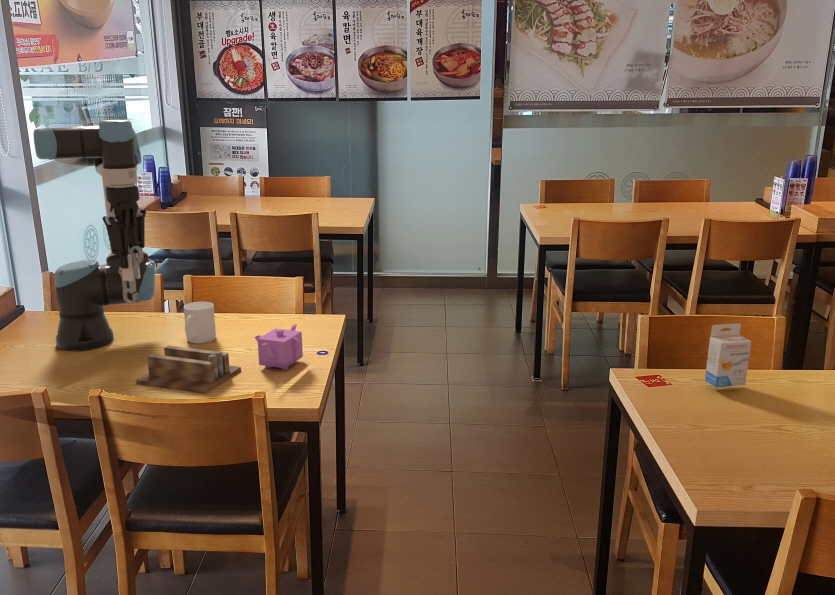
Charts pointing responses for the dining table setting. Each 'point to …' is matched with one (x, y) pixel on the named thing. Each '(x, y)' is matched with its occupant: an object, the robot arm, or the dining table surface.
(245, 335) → the dining table surface
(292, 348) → the teapot
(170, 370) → the letter rack
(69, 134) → the robot arm
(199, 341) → the mug
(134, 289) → the bracket
